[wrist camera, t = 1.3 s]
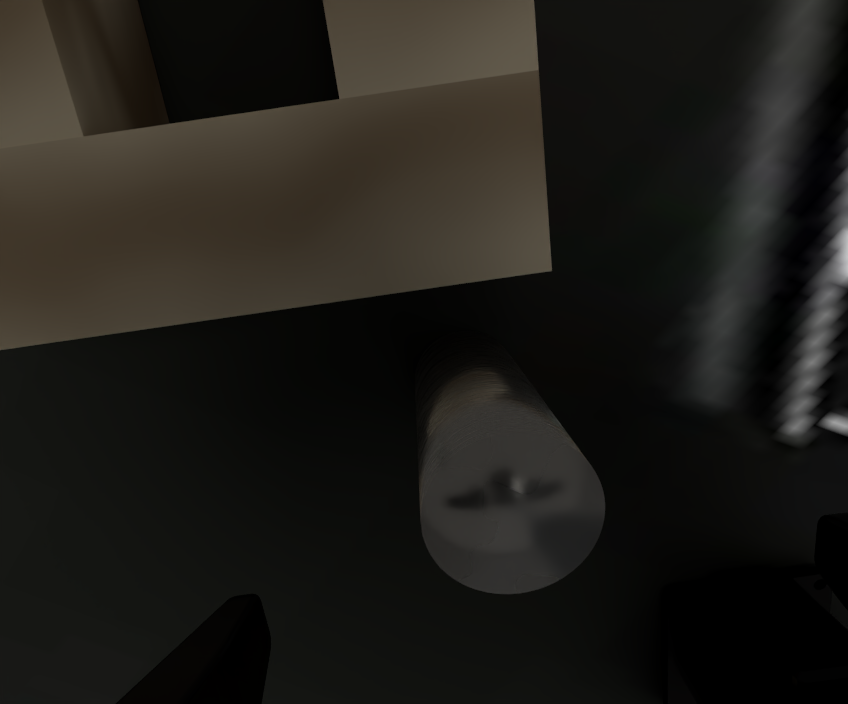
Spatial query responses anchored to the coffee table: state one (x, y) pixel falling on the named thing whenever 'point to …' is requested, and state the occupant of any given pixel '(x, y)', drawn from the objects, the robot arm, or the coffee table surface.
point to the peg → (498, 472)
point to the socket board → (262, 170)
